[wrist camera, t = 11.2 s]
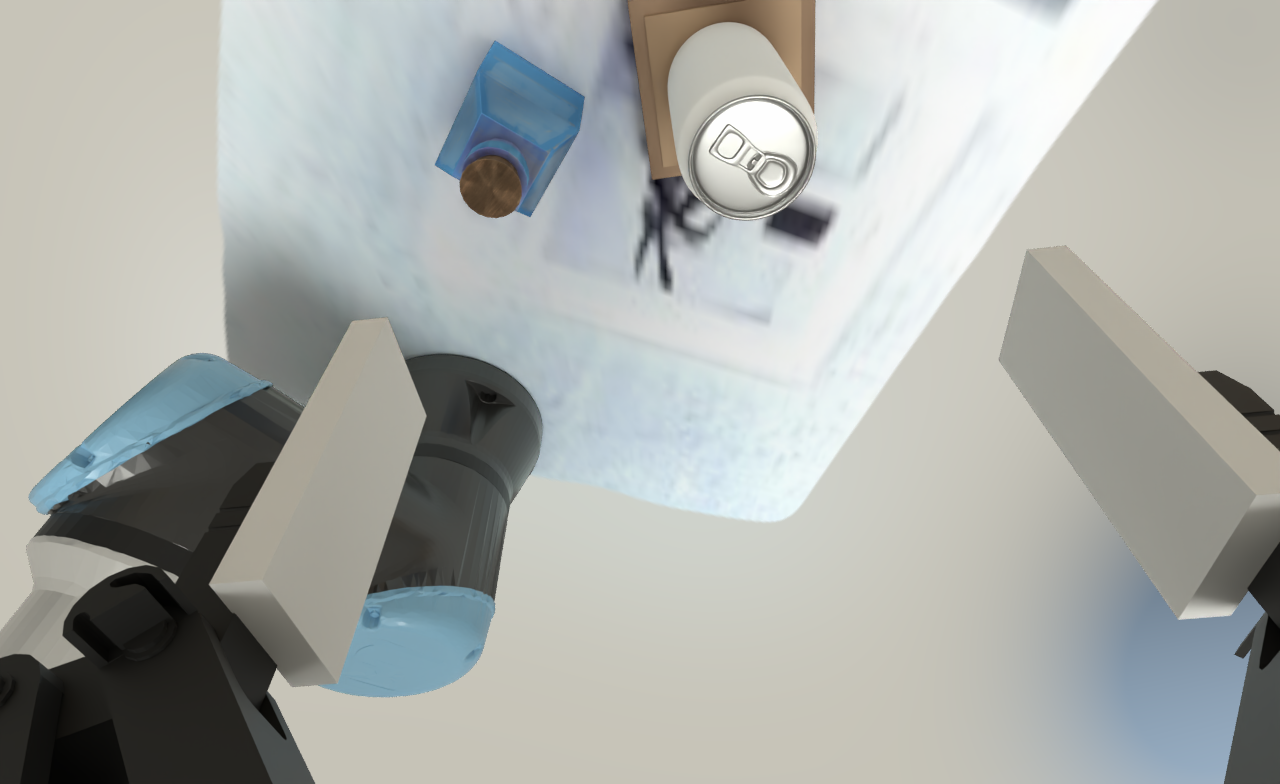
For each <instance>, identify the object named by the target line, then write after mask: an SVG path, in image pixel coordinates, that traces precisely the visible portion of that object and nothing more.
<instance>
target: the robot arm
mask: <svg viewBox="0 0 1280 784" xmlns="http://www.w3.org/2000/svg"><path fill="white" fill-rule="evenodd" d="M999 361H1000V363H1001V364H1002V366H1003V367H1004V369H1005V370H1006V371H1007V373H1008V374H1009V376H1010V377H1011V379H1012V380H1013V381H1014V383H1015V384H1016V386H1017V387H1018V389H1019V390H1020V392H1021V393H1022V394H1023V396H1024V397H1025V399H1026V400H1027V402H1028V403H1029V405H1030V406H1031V408H1032V409H1033V410H1034V412H1035V413H1036V415H1037V416H1038V418H1039V419H1040V420H1041V422H1042V423H1043V425H1044V426H1045V428H1046V429H1047V430H1048V432H1049V433H1050V435H1051V436H1052V438H1053V439H1054V441H1055V442H1056V444H1057V445H1058V447H1059V448H1060V449H1061V451H1062V452H1063V454H1064V455H1065V457H1066V458H1067V459H1068V461H1069V462H1070V464H1071V465H1072V467H1073V468H1074V470H1075V471H1076V473H1077V474H1078V475H1079V477H1080V478H1081V480H1082V481H1083V483H1084V484H1085V485H1086V487H1087V488H1088V490H1089V491H1090V493H1091V494H1092V496H1093V497H1094V499H1095V500H1096V501H1097V503H1098V504H1099V506H1100V507H1101V509H1102V510H1103V511H1104V513H1105V514H1106V516H1107V517H1108V519H1109V520H1110V522H1111V523H1112V525H1113V526H1114V527H1115V529H1116V530H1117V532H1118V533H1119V535H1120V536H1121V537H1122V539H1123V540H1124V542H1125V543H1126V545H1127V546H1128V548H1129V549H1130V551H1131V552H1132V553H1133V555H1134V556H1135V558H1136V559H1137V560H1138V562H1139V564H1140V565H1141V566H1142V568H1143V569H1144V571H1145V572H1146V574H1147V575H1148V577H1149V578H1150V579H1151V581H1152V582H1153V584H1154V585H1155V587H1156V588H1157V590H1158V591H1159V592H1160V594H1161V595H1162V597H1163V598H1164V600H1165V601H1166V602H1167V604H1168V605H1169V607H1170V608H1171V610H1172V611H1173V612H1174V614H1175V616H1176V617H1177V618H1178V619H1192V618H1204V617H1218V616H1231V615H1232V613H1233V612H1234V610H1235V609H1236V608H1237V606H1238V605H1239V603H1240V602H1241V600H1242V599H1243V597H1244V596H1245V595H1246V593H1247V592H1248V591H1249V592H1250V593H1251V594H1252V595H1253V597H1254V598H1255V599H1256V600H1257V601H1258V603H1259V604H1260V605H1261V606H1262V608H1263V609H1264V610H1265V611H1266V612H1265V613H1264V614H1263V616H1262V617H1261V618H1260V620H1259V621H1258V622H1257V624H1256V625H1255V626H1254V628H1253V629H1252V630H1251V632H1250V633H1249V634H1248V636H1247V637H1246V638H1245V639H1244V641H1243V642H1242V643H1241V645H1240V646H1239V648H1238V650H1237V651H1236V653H1235V655H1236V656H1239V657H1241V658H1244V657H1245V656H1246V654H1247V653H1248V652H1249V651H1250V649H1251V652H1250V657H1249V662H1248V667H1247V673H1246V677H1245V682H1244V687H1243V692H1242V697H1241V702H1240V707H1239V712H1238V717H1237V722H1236V726H1235V732H1234V736H1233V741H1232V746H1231V751H1230V756H1229V761H1228V766H1227V771H1226V776H1225V781H1224V784H1280V415H1275V414H1274V409H1272V408H1271V407H1270V406H1269V405H1268V404H1267V403H1266V402H1265V401H1264V400H1262V399H1261V398H1260V397H1259V396H1258V395H1257V394H1256V393H1255V392H1254V391H1253V390H1252V389H1250V388H1249V387H1247V386H1244V385H1243V384H1241V383H1239V382H1237V381H1235V380H1234V379H1231V378H1230V377H1228V376H1226V375H1224V374H1222V373H1220V372H1218V371H1205V372H1197V371H1196V370H1195V369H1194V368H1193V367H1192V366H1191V365H1190V364H1189V363H1188V362H1187V361H1185V360H1184V359H1183V358H1182V357H1181V356H1180V355H1179V354H1178V353H1177V352H1176V351H1175V350H1174V349H1173V348H1172V347H1171V346H1170V345H1169V344H1168V343H1167V342H1166V341H1165V340H1164V339H1163V338H1162V337H1160V335H1159V334H1157V333H1156V332H1155V331H1154V330H1153V329H1152V328H1151V327H1150V326H1149V325H1148V324H1147V323H1146V322H1145V321H1144V320H1143V319H1142V318H1141V317H1140V316H1139V315H1138V314H1137V313H1136V312H1135V311H1134V310H1133V309H1131V307H1129V306H1128V305H1127V304H1126V303H1125V302H1124V301H1123V300H1122V299H1121V298H1120V297H1119V296H1118V295H1117V294H1116V293H1115V292H1114V291H1113V290H1112V289H1111V288H1110V287H1109V286H1108V285H1107V284H1106V283H1104V281H1103V280H1101V279H1100V278H1099V277H1098V276H1097V275H1096V274H1095V273H1094V272H1093V271H1092V270H1091V269H1090V268H1089V267H1088V266H1087V265H1086V264H1085V263H1084V262H1083V261H1082V260H1081V259H1080V258H1079V257H1078V256H1077V255H1076V254H1075V253H1073V252H1072V251H1071V250H1070V249H1069V248H1068V247H1067V246H1056V247H1047V248H1037V249H1028V250H1027V251H1026V255H1025V259H1024V263H1023V266H1022V271H1021V274H1020V278H1019V282H1018V286H1017V290H1016V294H1015V298H1014V302H1013V306H1012V310H1011V314H1010V317H1009V321H1008V325H1007V329H1006V333H1005V337H1004V341H1003V345H1002V349H1001V353H1000V357H999ZM541 439H542V420H541V416H540V413H539V410H538V408H537V406H536V404H535V402H534V400H533V399H532V397H531V396H530V395H529V393H528V392H527V391H526V390H525V389H524V388H523V387H522V386H521V385H520V384H519V383H518V382H517V381H516V380H514V379H513V378H512V377H510V376H509V375H508V374H506V373H504V372H503V371H501V370H499V369H497V368H495V367H493V366H491V365H489V364H486V363H484V362H481V361H478V360H475V359H471V358H466V357H461V356H454V355H429V356H422V357H417V358H413V359H410V360H407V361H405V360H404V358H403V355H402V353H401V350H400V348H399V345H398V342H397V340H396V337H395V335H394V332H393V330H392V327H391V325H390V322H389V320H388V317H384V318H375V319H366V320H356V321H352V322H351V324H350V326H349V328H348V329H347V331H346V333H345V335H344V337H343V339H342V340H341V342H340V344H339V346H338V348H337V350H336V351H335V353H334V355H333V357H332V359H331V361H330V363H329V364H328V366H327V368H326V370H325V372H324V374H323V375H322V377H321V379H320V381H319V383H318V385H317V386H316V388H315V390H314V392H313V394H312V396H311V397H310V399H309V401H308V403H307V405H306V407H305V408H304V407H303V406H301V405H300V404H298V403H297V402H295V401H293V400H292V399H290V398H289V397H287V396H286V395H284V394H283V393H281V392H280V391H278V390H277V389H275V388H274V387H273V384H272V383H271V382H269V381H266V380H259V379H257V378H256V377H254V376H252V375H250V374H249V373H247V372H245V371H244V370H242V369H240V368H238V367H237V366H235V365H233V364H232V363H230V362H228V361H226V360H225V359H223V358H221V357H219V356H216V355H213V354H208V353H196V354H191V355H187V356H184V357H182V358H180V359H178V360H177V361H176V362H174V363H173V364H171V365H170V366H169V367H168V368H166V369H165V370H164V371H163V372H161V373H160V374H159V375H158V376H157V377H155V378H154V379H153V380H152V381H150V382H149V383H148V384H147V385H146V386H145V387H143V388H142V389H141V390H140V391H139V392H138V393H136V394H135V395H134V396H133V397H132V398H131V399H129V401H127V402H126V403H125V404H124V405H123V406H121V407H120V408H119V409H118V410H117V411H116V412H115V413H114V414H112V416H110V417H109V418H108V419H107V420H106V421H105V422H103V423H102V424H101V425H100V426H99V427H98V428H97V429H96V430H95V431H94V432H93V433H92V434H90V435H89V436H88V437H87V438H86V439H85V440H84V441H83V442H82V444H81V445H79V446H78V447H76V448H75V449H74V450H73V451H72V452H71V453H70V454H69V455H68V456H67V457H66V458H65V459H64V460H63V461H61V462H60V463H59V464H57V465H56V466H55V467H54V468H53V469H52V470H51V471H50V472H49V473H48V474H47V475H46V476H45V477H44V478H43V479H42V480H41V481H40V482H39V483H38V484H37V485H36V486H35V487H34V488H33V489H32V491H31V492H30V494H29V500H30V502H31V503H32V504H33V505H35V506H36V509H37V511H38V512H39V513H42V514H44V515H45V514H46V515H48V514H51V516H50V518H49V519H48V520H47V522H46V523H45V524H44V525H43V526H42V528H41V529H40V530H39V531H38V532H37V533H36V535H35V536H34V537H33V538H32V539H31V540H30V542H29V543H28V544H27V546H26V551H27V556H28V560H29V564H30V568H31V573H32V578H33V582H34V585H33V590H32V592H31V593H30V595H29V596H28V597H27V599H26V600H25V601H24V602H23V603H22V605H21V606H20V607H19V609H18V610H17V611H16V612H15V613H14V615H13V616H12V617H11V618H10V620H9V621H8V622H7V624H6V625H5V626H4V627H3V629H2V630H1V631H0V784H315V782H314V780H313V778H312V776H311V774H310V772H309V770H308V768H307V766H306V763H305V761H304V759H303V757H302V755H301V753H300V751H299V749H298V747H297V745H296V743H295V741H294V738H293V736H292V734H291V732H290V730H289V728H288V726H287V724H286V722H285V720H284V718H283V716H282V714H281V712H280V709H279V707H278V705H277V703H276V701H275V700H274V698H273V697H272V696H271V695H270V694H269V693H268V691H267V690H268V688H269V685H270V683H271V680H272V678H273V676H274V673H275V671H276V668H277V669H278V670H279V672H280V673H281V674H282V675H283V677H284V678H285V679H286V680H287V682H288V683H289V684H290V685H291V686H292V687H298V686H311V685H318V686H321V687H323V688H326V689H330V690H333V691H337V692H341V693H345V694H350V695H357V696H367V697H397V696H408V695H416V694H420V693H425V692H429V691H433V690H436V689H439V688H441V687H444V686H446V685H448V684H450V683H453V682H455V681H456V680H458V679H459V678H461V677H462V676H464V675H465V674H466V673H467V672H468V671H469V670H471V669H472V667H473V666H474V665H475V664H476V663H477V661H478V660H479V658H480V656H481V654H482V651H483V648H484V644H485V641H486V637H487V633H488V629H489V626H490V622H491V619H492V618H493V615H494V613H495V603H494V600H495V594H496V588H497V581H498V575H499V569H500V562H501V556H502V550H503V544H504V537H505V532H506V526H507V518H508V513H509V507H510V504H511V503H512V501H513V500H514V498H515V497H516V495H517V494H518V492H519V491H520V489H521V487H522V486H523V484H524V483H525V481H526V479H527V478H528V476H529V475H530V474H531V472H532V470H533V469H534V467H535V465H536V462H537V460H538V457H539V453H540V446H541Z"/></svg>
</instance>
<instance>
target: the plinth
mask: <svg viewBox="0 0 1280 784" xmlns="http://www.w3.org/2000/svg"><path fill="white" fill-rule="evenodd" d="M628 9H629V16H630V23H631V30H632V38H633V45H634V52H635V59H636V67H637V74H638V81H639V88H640V96H641V103H642V110H643V117H644V125H645V132H646V139H647V146H648V154H649V161H650V168H651V175H652V180H653V179H660V178H667V177H674V176H681V175H682V174H681V171H680V168H679V165H678V160H677V155H676V149H675V143H674V136H673V129H672V123H671V116H670V108H669V100H668V76H669V71H670V67H671V64H672V62H673V59H674V57H675V55H676V54H677V52H678V50H679V49H680V48H681V46H682V45H683V44H684V43H685V42H686V40H687V39H689V38H690V37H691V36H692V35H693V34H695V33H696V32H698V31H699V30H701V29H703V28H705V27H707V26H710V25H713V24H716V23H722V22H735V23H741V24H744V25H747V26H750V27H752V28H754V29H755V30H757V31H758V32H760V33H761V34H762V35H763V36H765V37H766V38H767V40H768V41H769V42H770V43H771V44H772V46H773V47H774V49H775V50H776V52H777V53H778V55H779V56H780V58H781V59H782V61H783V62H784V64H785V65H786V67H787V69H788V70H789V72H790V73H791V75H792V76H793V78H794V80H795V81H796V83H797V84H798V86H799V88H800V89H801V91H802V92H803V94H804V96H805V98H806V99H807V101H808V103H809V105H810V107H811V109H812V111H813V114H814V77H815V0H628Z"/></svg>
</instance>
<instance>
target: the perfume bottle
mask: <svg viewBox="0 0 1280 784" xmlns="http://www.w3.org/2000/svg"><path fill="white" fill-rule="evenodd" d="M583 104H584V96H582V95H581V94H579V93H577V92H576V91H574V90H573V89H571V88H569V87H568V86H566V85H565V84H563V83H561V82H560V81H558V80H557V79H555V78H554V77H552V76H550V75H549V74H547V73H546V72H544V71H542V70H541V69H539V68H538V67H536V66H534V65H533V64H531V63H530V62H528V61H527V60H525V59H523V58H522V57H520V56H519V55H517V54H515V53H514V52H512V51H511V50H509V49H507V48H506V47H504V46H503V45H501V44H499V43H498V42H496V41H495V42H494V43H493V45H492V47H491V49H490V50H489V52H488V54H487V55H486V57H485V59H484V60H483V62H482V64H481V66H480V67H479V69H478V71H477V73H476V76H475V78H474V80H473V82H472V84H471V86H470V89H469V91H468V93H467V95H466V97H465V100H464V102H463V104H462V106H461V108H460V111H459V113H458V115H457V117H456V119H455V121H454V124H453V126H452V128H451V130H450V132H449V135H448V137H447V139H446V141H445V143H444V145H443V148H442V150H441V152H440V154H439V156H438V159H437V161H436V163H435V165H436V166H437V167H439V168H440V169H442V170H443V171H445V172H446V173H448V174H450V175H451V176H453V177H455V178H457V179H458V180H460V192H461V194H462V197H463V199H464V201H465V202H466V204H467V205H468V206H469V207H470V208H471V209H472V210H474V211H475V212H476V213H478V214H480V215H483V216H485V217H491V218H499V217H504V216H507V215H508V214H510V213H512V212H513V211H514V210H515V211H517V212H520V213H522V214H524V215H527V216H529V217H531V215H532V213H533V211H534V210H535V208H536V206H537V204H538V202H539V201H540V199H541V197H542V195H543V194H544V192H545V190H546V188H547V187H548V185H549V183H550V181H551V180H552V178H553V176H554V174H555V173H556V171H557V169H558V167H559V166H560V164H561V162H562V160H563V159H564V157H565V155H566V153H567V152H568V150H569V148H570V146H571V145H572V143H573V141H574V139H575V137H576V136H577V134H578V132H579V130H580V124H581V117H582V111H583Z"/></svg>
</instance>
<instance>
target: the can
mask: <svg viewBox="0 0 1280 784" xmlns="http://www.w3.org/2000/svg"><path fill="white" fill-rule="evenodd" d="M668 100H669V108H670V116H671V123H672V129H673V136H674V143H675V149H676V155H677V160H678V165H679V168H680V171H681V174H682V176H683V179H684V181H685V183H686V184H687V186H688V187H689V189H690V190H691V191H692V193H693V194H694V195H695V196H696V197H697V198H698V199H699V200H701V201H702V202H703V203H704V204H705V205H706V206H707V207H708V208H709V209H711V210H712V211H714V212H715V213H717V214H719V215H721V216H724V217H726V218H730V219H734V220H757V219H762V218H765V217H768V216H771V215H773V214H775V213H777V212H779V211H781V210H783V209H784V208H786V207H787V206H788V205H790V204H791V203H792V202H793V201H794V200H795V199H796V198H797V197H798V196H799V195H800V194H801V192H802V191H803V190H804V188H805V187H806V185H807V183H808V182H809V180H810V177H811V175H812V172H813V169H814V165H815V160H816V151H817V144H818V132H817V125H816V121H815V117H814V114H813V111H812V109H811V107H810V105H809V103H808V101H807V99H806V98H805V96H804V94H803V92H802V91H801V89H800V88H799V86H798V84H797V83H796V81H795V80H794V78H793V76H792V75H791V73H790V72H789V70H788V69H787V67H786V65H785V64H784V62H783V61H782V59H781V58H780V56H779V55H778V53H777V52H776V50H775V49H774V47H773V46H772V44H771V43H770V42H769V41H768V40H767V38H766V37H765V36H763V35H762V34H761V33H760V32H758V31H757V30H755V29H754V28H752V27H750V26H747V25H744V24H741V23H735V22H722V23H716V24H713V25H710V26H707V27H705V28H703V29H701V30H699V31H698V32H696V33H695V34H693V35H692V36H691V37H690V38H689V39H687V40H686V42H685V43H684V44H683V45H682V46H681V48H680V49H679V50H678V52H677V54H676V55H675V57H674V59H673V62H672V64H671V67H670V71H669V76H668Z"/></svg>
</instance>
